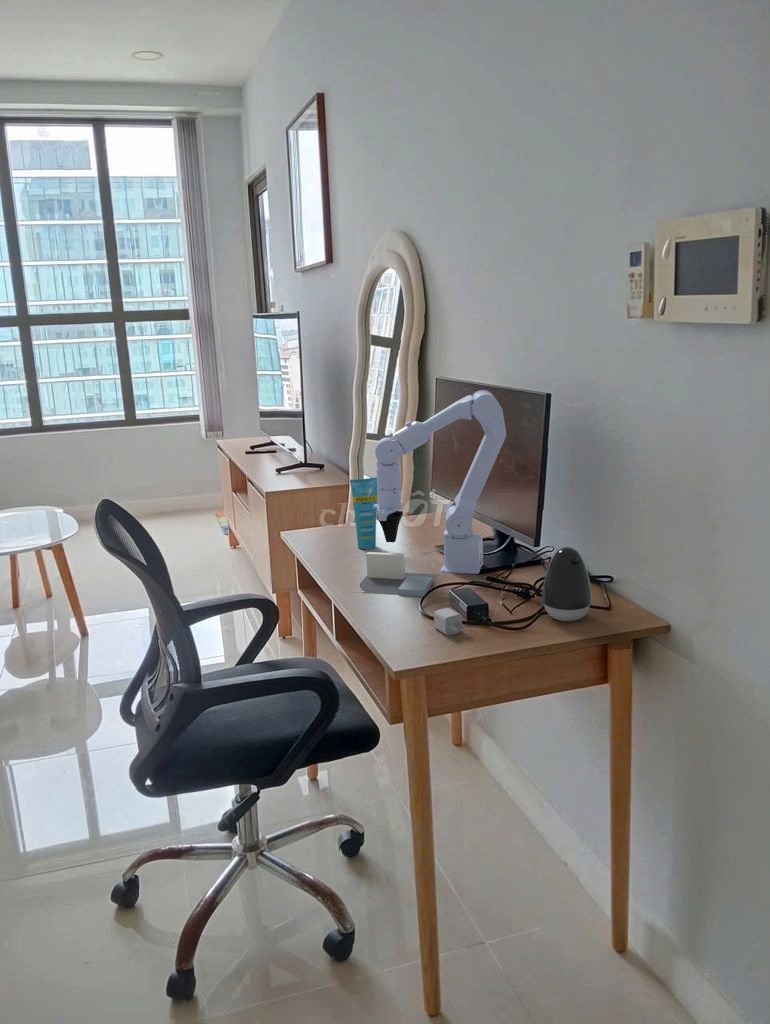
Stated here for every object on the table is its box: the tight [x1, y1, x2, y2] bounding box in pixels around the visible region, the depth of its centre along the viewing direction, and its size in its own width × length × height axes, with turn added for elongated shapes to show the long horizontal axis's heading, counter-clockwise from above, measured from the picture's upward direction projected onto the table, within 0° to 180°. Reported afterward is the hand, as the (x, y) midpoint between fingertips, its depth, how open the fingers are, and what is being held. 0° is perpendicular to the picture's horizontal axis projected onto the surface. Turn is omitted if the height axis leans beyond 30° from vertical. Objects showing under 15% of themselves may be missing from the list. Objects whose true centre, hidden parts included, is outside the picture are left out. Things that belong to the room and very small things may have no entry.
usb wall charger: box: [433, 607, 466, 636], centre depth 172 cm, size 4×7×4 cm, turn 28°
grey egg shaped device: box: [541, 546, 593, 622], centre depth 175 cm, size 10×10×15 cm
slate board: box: [397, 576, 434, 597], centre depth 196 cm, size 9×6×1 cm, turn 164°
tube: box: [349, 476, 378, 550], centre depth 228 cm, size 7×5×19 cm, turn 103°
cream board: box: [365, 551, 406, 579], centre depth 204 cm, size 9×1×6 cm, turn 74°
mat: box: [359, 572, 439, 597], centre depth 201 cm, size 17×15×1 cm
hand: (390, 541), depth 208 cm, fingers closed
